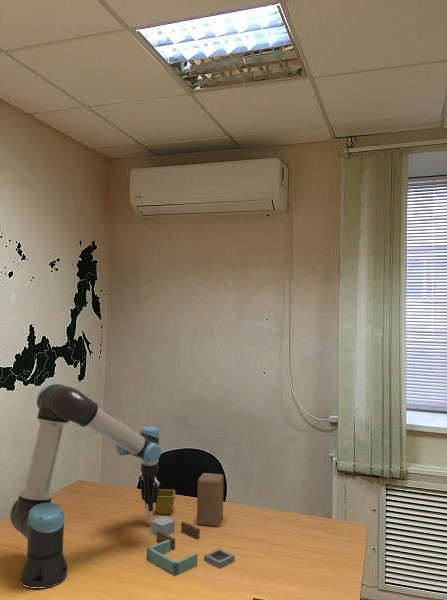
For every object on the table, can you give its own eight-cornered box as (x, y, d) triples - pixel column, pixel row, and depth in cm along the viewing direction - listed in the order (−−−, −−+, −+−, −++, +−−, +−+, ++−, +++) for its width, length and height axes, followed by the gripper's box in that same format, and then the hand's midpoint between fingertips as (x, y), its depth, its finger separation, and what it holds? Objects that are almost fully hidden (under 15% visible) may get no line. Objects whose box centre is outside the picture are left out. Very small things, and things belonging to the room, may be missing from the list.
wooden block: (218, 527, 210) (219, 480, 211) (196, 525, 212) (197, 478, 213) (223, 518, 220) (224, 473, 221) (201, 516, 222) (202, 472, 223)
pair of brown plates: (172, 550, 189) (172, 539, 189) (156, 541, 196) (156, 531, 196) (199, 538, 199) (199, 528, 199) (183, 531, 206) (183, 521, 206)
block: (161, 538, 199) (162, 525, 200) (150, 532, 204) (151, 520, 204) (174, 532, 205) (174, 520, 205) (163, 527, 209) (163, 516, 209)
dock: (175, 575, 170) (175, 564, 170) (146, 559, 181) (147, 548, 181) (197, 565, 177) (197, 554, 178) (168, 549, 189) (168, 539, 189)
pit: (219, 568, 175) (219, 562, 176) (204, 560, 181) (204, 555, 181) (234, 560, 181) (234, 555, 181) (219, 553, 187) (219, 548, 187)
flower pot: (172, 516, 221) (173, 496, 221) (153, 516, 221) (154, 496, 222) (175, 509, 230) (175, 489, 230) (156, 508, 230) (157, 489, 230)
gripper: (165, 464, 211) (165, 519, 210) (147, 458, 220) (146, 511, 219) (152, 468, 205) (151, 524, 204) (133, 461, 214) (132, 515, 213)
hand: (148, 517), depth 212 cm, fingers closed
